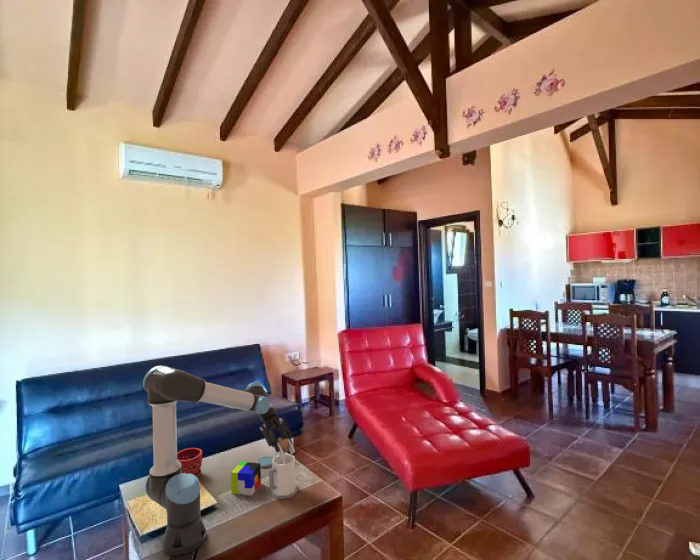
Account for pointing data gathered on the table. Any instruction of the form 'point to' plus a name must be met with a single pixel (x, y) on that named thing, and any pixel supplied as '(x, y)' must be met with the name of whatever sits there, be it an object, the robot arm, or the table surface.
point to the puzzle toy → (246, 478)
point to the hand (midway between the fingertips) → (288, 455)
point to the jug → (283, 477)
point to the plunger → (283, 446)
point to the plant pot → (190, 461)
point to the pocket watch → (266, 461)
